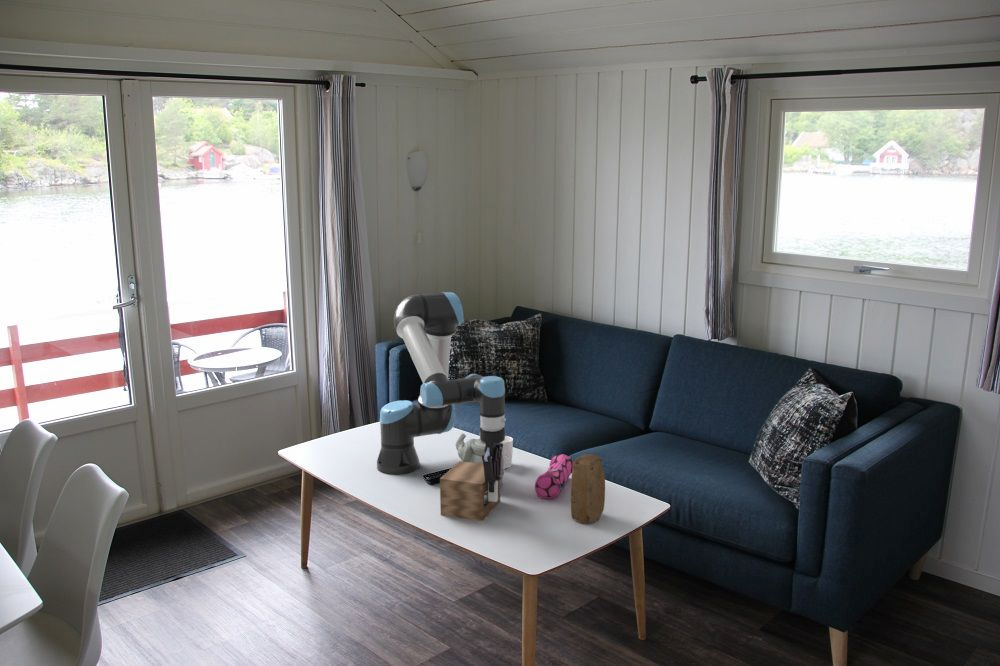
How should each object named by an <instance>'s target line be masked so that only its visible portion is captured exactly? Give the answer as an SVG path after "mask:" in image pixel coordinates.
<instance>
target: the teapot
mask: <svg viewBox="0 0 1000 666" xmlns="http://www.w3.org/2000/svg"><path fill="white" fill-rule="evenodd" d="M478 436H480V432H479V433H478ZM466 437H467V435H466V434H465V433H461V435H460V436H459V437H458V439H457V440H456V441H455V448H456V450H457V455H458V457H459V459H460V460H461V461H462V462H470V463H478V464H483V460H482V455H485V445H486V444H485V443H484V442H483V441H481V439H480V438H471V439H468V440H467V441H466V442H465V441H464V440H465V439H466ZM500 443H501V444H502V442H500ZM503 465H504V458H503V455H502V459H501V474H500V477H501V479H500V487H501V486H502V485H503V483H504V482H503V481H504V474H505V470H504V469H503Z"/></svg>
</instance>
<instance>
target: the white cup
mask: <svg viewBox="0 0 1000 666" xmlns="http://www.w3.org/2000/svg"><path fill="white" fill-rule="evenodd" d="M502 444H503V449H502V455H503V458H504V465H503V470H504V469H505V468H506V469H509V468H511V466H512V465H513V463H512V461H513V451H514V448H513V445H514V438H513V437H511V436H508V435H505V439H504V441H502ZM506 469H505V470H506Z"/></svg>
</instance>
